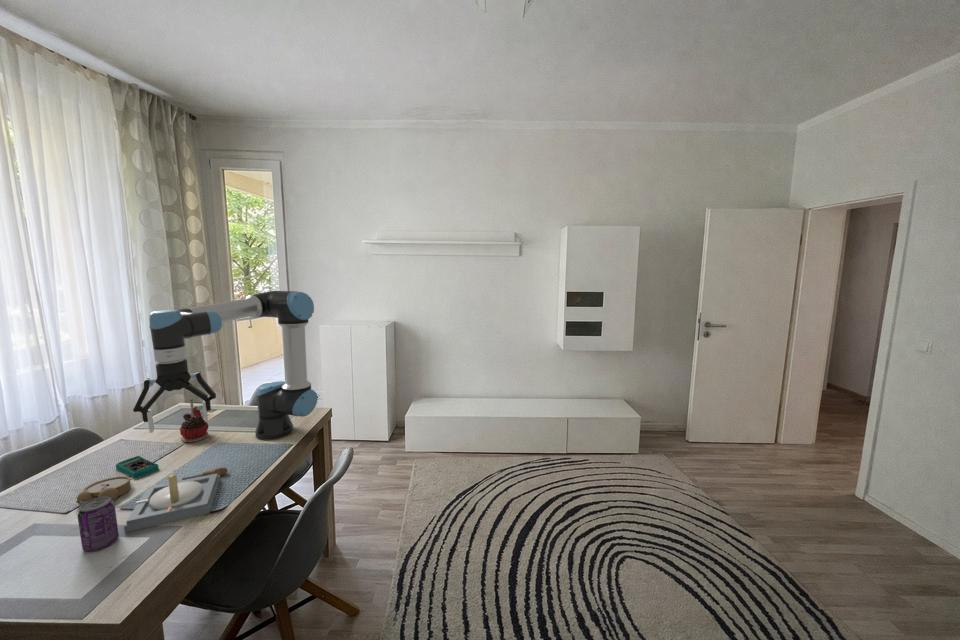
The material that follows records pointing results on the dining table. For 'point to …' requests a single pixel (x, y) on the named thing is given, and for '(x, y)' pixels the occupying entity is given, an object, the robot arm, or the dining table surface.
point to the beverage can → (97, 523)
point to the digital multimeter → (137, 467)
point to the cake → (194, 425)
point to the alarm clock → (105, 489)
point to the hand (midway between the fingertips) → (180, 425)
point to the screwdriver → (209, 473)
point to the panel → (151, 517)
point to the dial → (175, 494)
